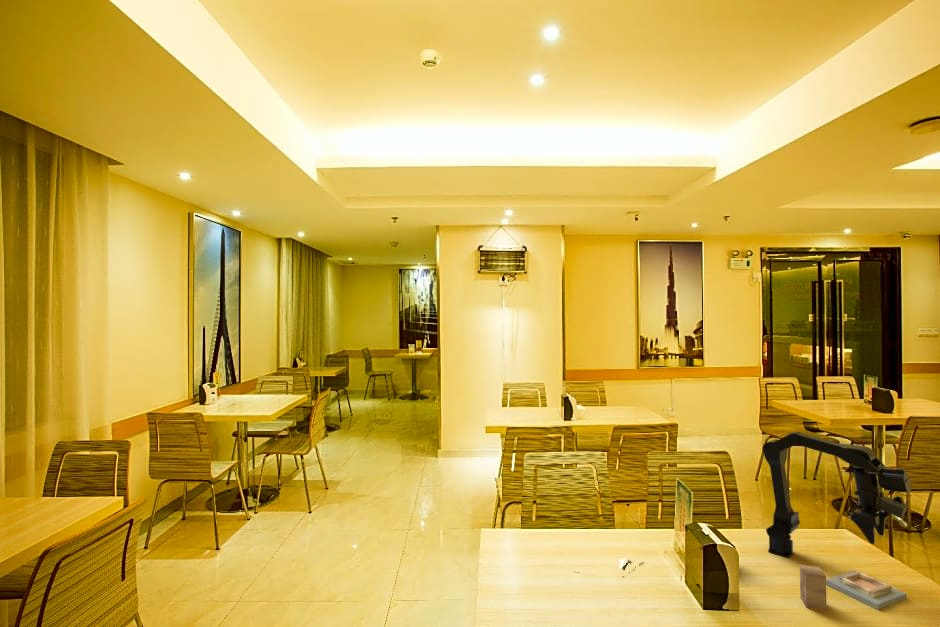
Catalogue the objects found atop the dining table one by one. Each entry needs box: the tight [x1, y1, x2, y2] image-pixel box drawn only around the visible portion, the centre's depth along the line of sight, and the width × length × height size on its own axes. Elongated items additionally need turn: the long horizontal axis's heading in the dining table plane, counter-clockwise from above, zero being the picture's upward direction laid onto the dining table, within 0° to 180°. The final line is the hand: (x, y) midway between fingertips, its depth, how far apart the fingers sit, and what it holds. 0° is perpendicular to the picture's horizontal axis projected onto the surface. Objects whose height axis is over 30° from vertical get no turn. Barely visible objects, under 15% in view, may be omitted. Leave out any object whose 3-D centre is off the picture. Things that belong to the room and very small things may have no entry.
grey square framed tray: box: [826, 570, 908, 610], centre depth 146 cm, size 14×14×3 cm
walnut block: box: [799, 564, 828, 611], centre depth 140 cm, size 5×5×10 cm
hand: (877, 539), depth 149 cm, fingers open, 9 cm apart
